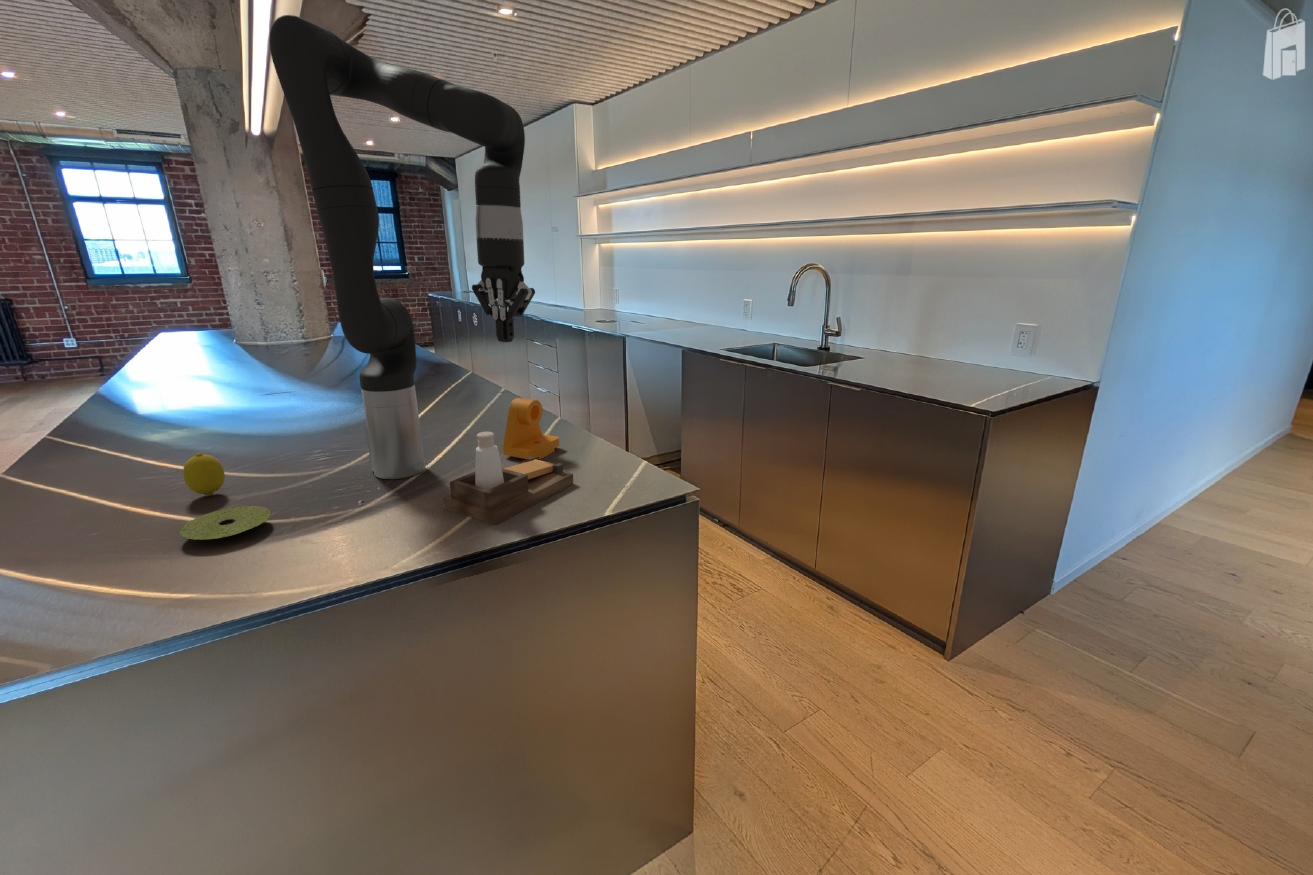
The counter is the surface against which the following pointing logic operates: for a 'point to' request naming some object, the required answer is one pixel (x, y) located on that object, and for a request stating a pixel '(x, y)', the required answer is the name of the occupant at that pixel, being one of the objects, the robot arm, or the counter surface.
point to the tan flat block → (533, 468)
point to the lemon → (203, 474)
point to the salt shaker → (487, 462)
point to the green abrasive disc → (225, 522)
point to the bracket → (527, 431)
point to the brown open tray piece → (504, 494)
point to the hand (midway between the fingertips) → (505, 341)
